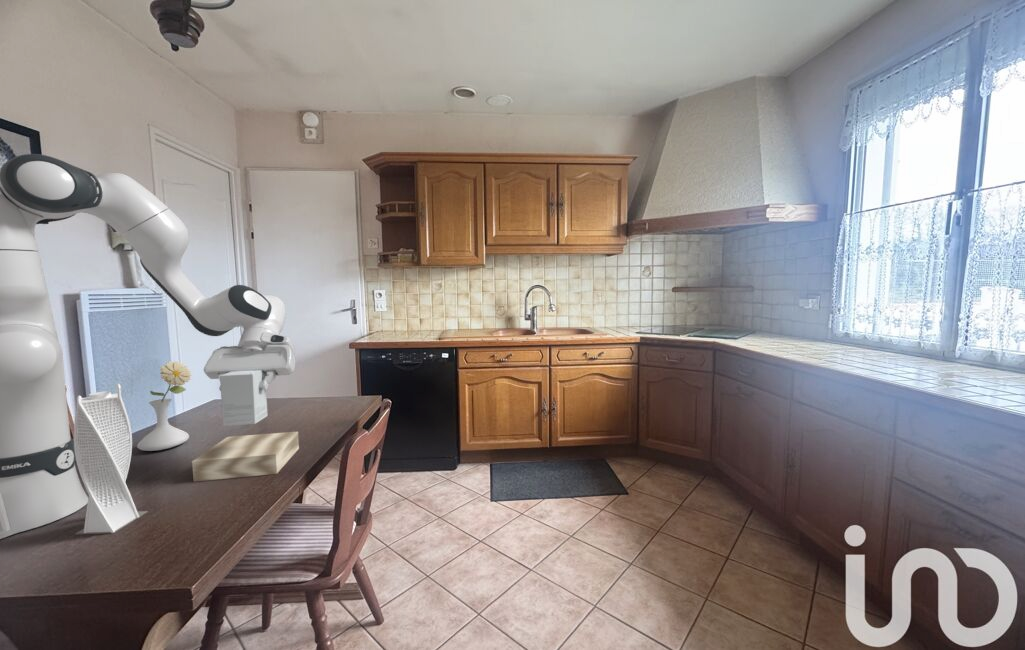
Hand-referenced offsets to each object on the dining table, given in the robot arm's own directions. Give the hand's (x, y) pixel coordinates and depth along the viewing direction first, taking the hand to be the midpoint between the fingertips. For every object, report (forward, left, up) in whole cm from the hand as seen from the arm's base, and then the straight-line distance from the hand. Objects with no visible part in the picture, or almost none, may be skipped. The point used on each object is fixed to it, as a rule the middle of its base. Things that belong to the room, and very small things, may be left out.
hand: (243, 389), depth 95 cm
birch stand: (-1, +4, -21) cm, 21 cm away
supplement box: (0, 0, -8) cm, 8 cm away
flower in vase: (-31, +23, -21) cm, 44 cm away
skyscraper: (-15, -20, -21) cm, 33 cm away
